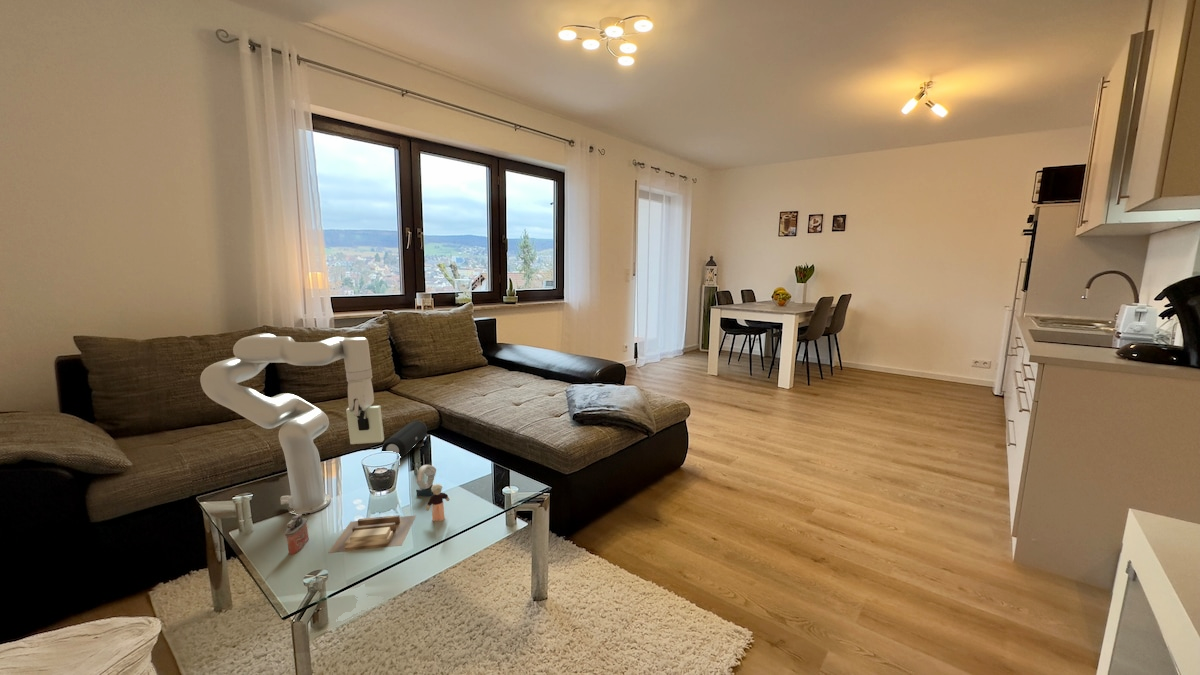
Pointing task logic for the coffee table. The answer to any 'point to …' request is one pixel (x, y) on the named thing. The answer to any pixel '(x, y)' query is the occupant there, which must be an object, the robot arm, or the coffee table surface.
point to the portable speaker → (405, 438)
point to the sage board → (375, 426)
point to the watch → (426, 488)
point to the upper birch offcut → (370, 534)
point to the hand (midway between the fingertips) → (365, 427)
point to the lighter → (296, 534)
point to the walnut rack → (395, 523)
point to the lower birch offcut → (368, 542)
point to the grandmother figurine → (437, 502)
